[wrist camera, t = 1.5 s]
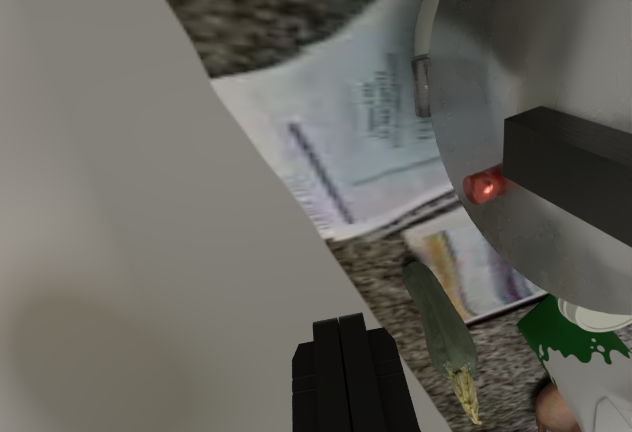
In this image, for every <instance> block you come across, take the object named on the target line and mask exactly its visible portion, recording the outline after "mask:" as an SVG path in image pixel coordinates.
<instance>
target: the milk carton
mask: <svg viewBox="0 0 632 432" xmlns="http://www.w3.org/2000/svg"><path fill="white" fill-rule="evenodd" d="M517 327H518V328H519V330H520V331H521V333H522V334H523V336H524V337H525V339H526V340H527V342H528V344H529V345H530V347H531V348H532V350H533V351H534V353H535V354H536V356H537V357H538V359H539V361H540V362H541V364H542V365H543V367H544V369H545V370H546V372H547V373H548V375H549V377H550V378H551V380H552V382H553V383H554V385H555V386H556V388H557V390H558V391H559V393H560V394H561V396H562V398H563V399H564V401H565V403H566V404H567V406H568V407H569V409H570V411H571V412H572V414H573V415H574V417H575V419H576V420H577V422H578V424H579V426H580V428H581V431H582V432H632V353H631V351H630V350H629V349H628V348H627V347H626V346H625V345H624V343H623V342H622V341H621V340H620V339H619V338H618V337H617V335H616V334H615V333H614V332H613V331H607V332H590V331H587V330H584V329H582V328H581V327H579V326H578V325H577V324H574V323H572V322H571V321H569V320H568V319H567V318H566V317H565V316H563V315H562V313H561V312H560V310H559V307H558V301H557V299H556V298H555V296H554V295H552V294H550V295H548V296H547V297H546V298H545V299H544V300H543V301H542V302H541V303H540V304H539V305H538V306H536V307H535V308H534V309H533V310H532V311H531V312H530V313H529V314H528V315H527V316H525V317H524V318H523V319H522V320H521V321H520V322H519V323H518V324H517Z"/></svg>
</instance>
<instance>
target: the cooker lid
mask: <svg viewBox="0 0 632 432" xmlns="http://www.w3.org/2000/svg"><path fill="white" fill-rule="evenodd" d="M411 64H412V75H413V86H414V98H415V109H416V115H417V116H418V117H431V119H432V125H433V129H434V133H435V138H436V142H437V145H438V149H439V152H440V155H441V158H442V161H443V164H444V166H445V169H446V172H447V174H448V177H449V179H450V181H451V183H452V185H453V188H454V190H455V192H456V194H457V196H458V198H459V199H460V201H461V203H462V205H463V207H464V208H465V210H466V212H467V213H468V215H469V216H470V218H471V220H472V221H473V223H474V224H475V225H476V227H477V228H478V229H479V231H480V232H481V234H482V235H483V236H484V237H485V239H486V240H487V241H488V242H489V243H490V245H491V246H492V247H493V248H494V249H495V250H496V251H497V252H498V253H499V254H500V255H501V256H502V257H503V258H504V259H505V261H506V262H508V263H509V264H510V265H511V266H512V267H513V268H514V269H516V270H517V271H518V272H519V273H520V274H521V275H523V276H524V277H526V278H527V279H528V280H530V281H531V282H532V283H534V284H535V285H537V286H538V287H540V288H542V289H543V290H545V291H547V292H548V293H550V294H552V295H554V296H556V297H558V298H560V299H562V300H564V301H566V302H568V303H571V304H574V305H577V306H580V307H583V308H585V309H588V310H592V311H597V312H602V313H607V314H614V315H630V316H632V0H439V4H438V7H437V11H436V14H435V17H434V21H433V26H432V31H431V36H430V44H429V53H428V54H422V55H418V56H415V57H413V58H412V59H411Z"/></svg>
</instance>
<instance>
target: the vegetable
mask: <svg viewBox="0 0 632 432" xmlns="http://www.w3.org/2000/svg"><path fill="white" fill-rule="evenodd" d="M403 279H404V282H405V285H406V287H407V290H408V292H409V294H410V296H411V298H412V299H413V301H414V303H415V304H416V306H417V308H418V310H419V313H420V315H421V318H422V322H423V327H424V332H425V338H426V343H427V348H428V352H429V355H430V358H431V360H432V362H433V364H434V366H435V368H436V369H437V371H438V372H439V373H440V374H441V375H442V376H444V377H446V378H447V379H449V380H452V381H451V385H452V388H453V389H454V391H455V394H456V395H457V396H458V398H459V399H460V402H461V404H462V406H463V408H464V410H465V411H466V414H467V415H468V416H469V417H470V418H471V420H472V421H473V422H474V423H475V424H480V425H481V424H482V421H481V422H480V421H479V418H478V415H477V414H478V408H479V404H478V402H477V397H476V389H475V385H474V382H473V379H472V376H473V375H474V373H475V371H476V369H477V365H478V355H477V351H476V348H475V345H474V342H473V339H472V337H471V335H470V333H469V331H468V329H467V327H466V325H465V323H464V321H463V320H462V318H461V317H460V315H459V314H458V312H457V311H456V309H455V307H454V306H453V304H452V303H451V301H450V299H449V297H448V296H447V294H446V293H445V291H444V290H443V287H442V286H441V284H440V283H439V281H438V279H437V278H436V276H435V275H434V274H433V273H432V271H431V270H430V269H429V268H428V267H427V266H426V265H424V264H422V263H419V262H416V261H415V262H412V263H410V264H408V265H407V266H406V267H404V269H403Z"/></svg>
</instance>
